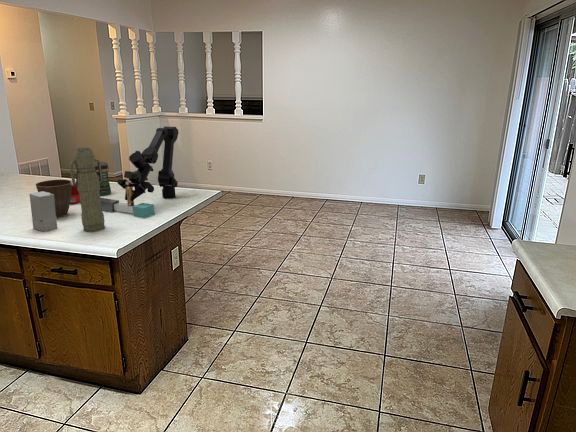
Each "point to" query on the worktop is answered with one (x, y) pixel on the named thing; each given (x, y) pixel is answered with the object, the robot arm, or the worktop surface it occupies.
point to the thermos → (88, 189)
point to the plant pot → (58, 194)
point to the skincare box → (43, 211)
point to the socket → (143, 210)
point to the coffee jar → (104, 179)
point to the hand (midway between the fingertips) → (128, 200)
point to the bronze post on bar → (123, 206)
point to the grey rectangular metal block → (107, 204)
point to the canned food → (74, 195)
